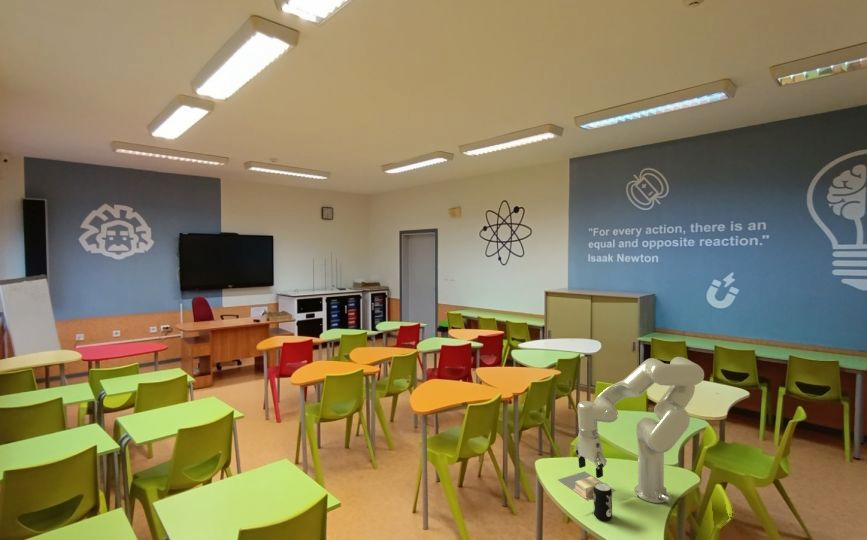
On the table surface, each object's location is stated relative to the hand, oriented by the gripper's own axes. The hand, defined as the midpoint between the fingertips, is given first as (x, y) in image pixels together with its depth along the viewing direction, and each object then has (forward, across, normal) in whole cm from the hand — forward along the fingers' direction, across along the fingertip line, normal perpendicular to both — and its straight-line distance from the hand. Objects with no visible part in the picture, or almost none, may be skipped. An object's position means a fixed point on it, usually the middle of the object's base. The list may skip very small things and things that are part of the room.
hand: (590, 471), depth 180 cm
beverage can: (+9, -14, +9) cm, 19 cm away
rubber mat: (+9, +5, -1) cm, 10 cm away
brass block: (+8, +1, +1) cm, 8 cm away
